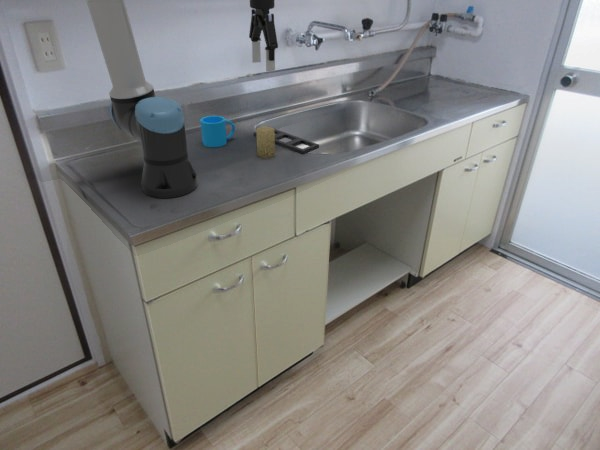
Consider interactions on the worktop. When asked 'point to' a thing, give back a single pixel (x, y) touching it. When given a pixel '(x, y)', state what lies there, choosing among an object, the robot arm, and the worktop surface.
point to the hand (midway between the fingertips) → (263, 66)
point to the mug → (215, 131)
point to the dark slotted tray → (293, 142)
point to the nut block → (265, 142)
